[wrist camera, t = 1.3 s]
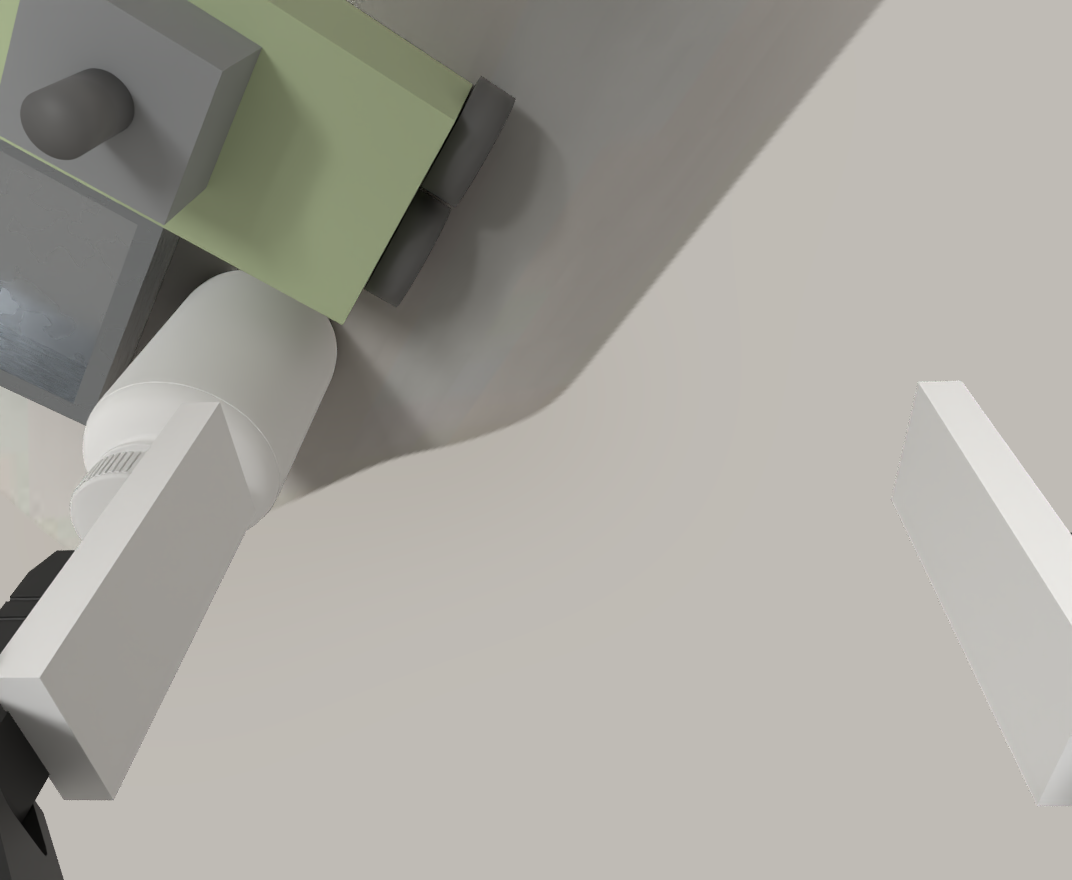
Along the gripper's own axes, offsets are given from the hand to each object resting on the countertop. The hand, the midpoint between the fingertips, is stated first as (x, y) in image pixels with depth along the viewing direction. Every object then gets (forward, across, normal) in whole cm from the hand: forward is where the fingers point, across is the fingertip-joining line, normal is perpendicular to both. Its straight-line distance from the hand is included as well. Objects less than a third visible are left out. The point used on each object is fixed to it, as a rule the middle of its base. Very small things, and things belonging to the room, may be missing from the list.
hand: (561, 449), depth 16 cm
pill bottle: (+25, -16, -10) cm, 31 cm away
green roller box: (+25, -14, +3) cm, 29 cm away
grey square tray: (+25, -27, -4) cm, 37 cm away
